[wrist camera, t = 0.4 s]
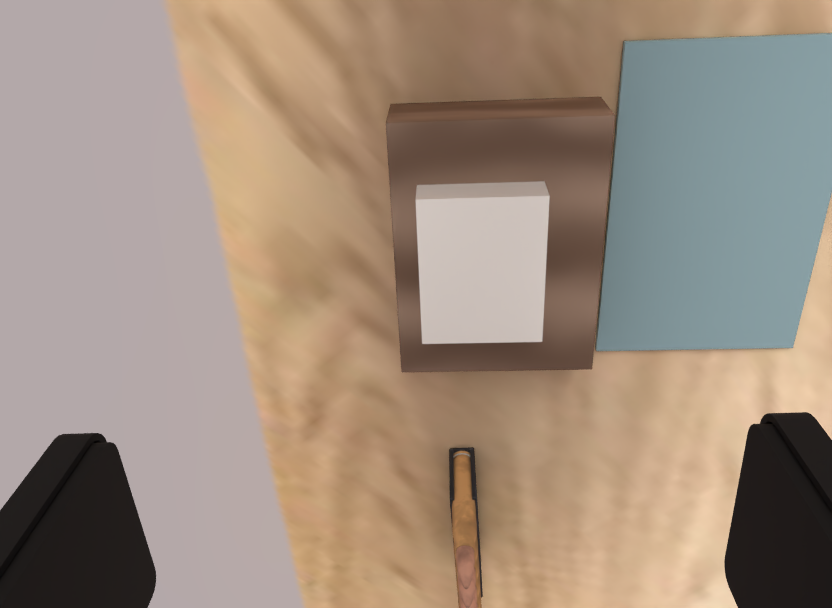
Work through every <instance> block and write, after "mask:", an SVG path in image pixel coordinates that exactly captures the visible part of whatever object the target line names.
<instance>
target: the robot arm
mask: <svg viewBox="0 0 832 608" xmlns="http://www.w3.org/2000/svg"><path fill="white" fill-rule="evenodd" d="M725 574H726V579H727V582H728V585H729V588H730V590H731V592H732V595H733V597H734V599H735V602H736V604H737V606H738V608H832V440H831V439H830V437H829V436H828V435H827V433H826V432H825V431H824V429H823V428H822V427H821V425H820V424H819V423H818V421H817V420H816V419H815V418H814V417H813V416H812V415H811V414H809V413H806V412H803V413H769V414H766V415H764V416H763V418H762V419H761V422H760V424H753V425H751V426H750V428H749V431H748V435H747V440H746V446H745V451H744V457H743V462H742V468H741V473H740V478H739V484H738V489H737V495H736V500H735V506H734V511H733V517H732V522H731V527H730V533H729V538H728V544H727V549H726V555H725ZM155 583H156V571H155V567H154V563H153V560H152V557H151V554H150V551H149V548H148V544H147V541H146V538H145V535H144V532H143V528H142V525H141V522H140V519H139V516H138V513H137V509H136V506H135V503H134V500H133V497H132V493H131V490H130V487H129V484H128V480H127V477H126V474H125V471H124V468H123V464H122V461H121V458H120V455H119V452H118V449H117V447H116V445H115V444H114V443H111V442H106V439H105V437H104V436H103V435H102V434H99V433H84V434H62V435H59V436H58V437H57V438H55V439H54V441H53V442H52V443H51V444H50V446H49V447H48V448H47V450H46V451H45V452H44V454H43V455H42V456H41V458H40V459H39V460H38V462H37V463H36V464H35V466H34V467H33V468H32V469H31V471H30V472H29V473H28V475H27V476H26V477H25V479H24V480H23V481H22V483H21V484H20V485H19V487H18V488H17V489H16V491H15V492H14V493H13V495H12V496H11V497H10V498H9V500H8V501H7V502H6V504H5V505H4V506H3V508H2V509H1V510H0V608H147V607H148V605H149V603H150V600H151V598H152V596H153V593H154V590H155Z"/></svg>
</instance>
